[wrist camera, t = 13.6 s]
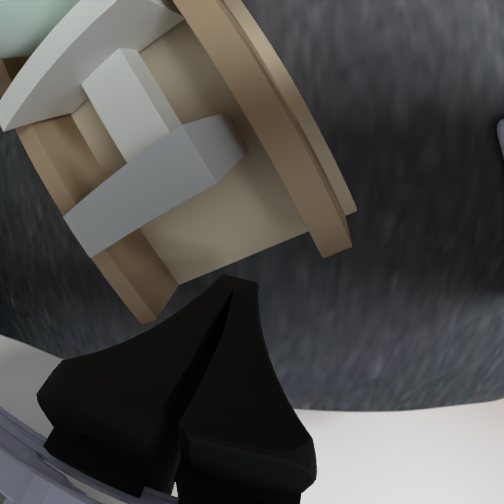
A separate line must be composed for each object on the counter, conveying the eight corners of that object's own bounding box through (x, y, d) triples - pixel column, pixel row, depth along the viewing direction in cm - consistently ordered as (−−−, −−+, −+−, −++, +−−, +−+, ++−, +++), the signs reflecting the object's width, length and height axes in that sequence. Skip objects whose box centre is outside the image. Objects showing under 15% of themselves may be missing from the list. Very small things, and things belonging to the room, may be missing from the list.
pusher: (264, 143, 10) (238, 171, 7) (135, 216, 13) (80, 264, 9) (174, -1, 8) (113, -30, 5) (64, 95, 11) (-7, 110, 7)
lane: (354, 203, 12) (369, 248, 9) (162, 285, 16) (129, 334, 12) (122, -130, 4) (84, -155, 1) (-1, -14, 8) (-46, -14, 5)
